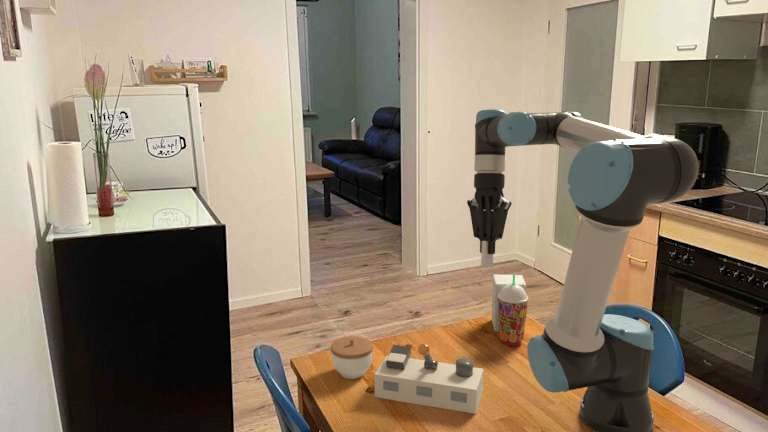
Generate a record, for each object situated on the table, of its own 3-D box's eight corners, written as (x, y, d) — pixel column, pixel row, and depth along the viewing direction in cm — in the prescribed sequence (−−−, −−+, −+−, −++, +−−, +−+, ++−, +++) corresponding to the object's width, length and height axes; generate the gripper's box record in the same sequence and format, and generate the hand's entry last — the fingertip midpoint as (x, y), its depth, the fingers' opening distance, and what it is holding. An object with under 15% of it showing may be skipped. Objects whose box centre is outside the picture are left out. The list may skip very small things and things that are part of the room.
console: (482, 391, 142) (483, 368, 140) (475, 414, 132) (476, 390, 131) (387, 376, 149) (387, 354, 148) (374, 397, 140) (374, 374, 138)
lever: (438, 361, 142) (430, 342, 131) (436, 371, 140) (428, 354, 130) (426, 359, 142) (417, 341, 132) (424, 370, 141) (415, 352, 131)
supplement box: (520, 320, 182) (523, 274, 178) (524, 332, 173) (527, 284, 170) (491, 319, 183) (492, 273, 179) (493, 331, 174) (495, 283, 170)
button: (474, 370, 140) (474, 359, 139) (471, 378, 136) (471, 367, 135) (457, 367, 141) (457, 357, 140) (454, 376, 137) (454, 365, 136)
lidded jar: (352, 388, 144) (351, 353, 142) (322, 373, 151) (321, 340, 149) (382, 372, 151) (381, 338, 149) (352, 358, 158) (351, 326, 156)
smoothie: (489, 341, 168) (492, 274, 163) (507, 332, 173) (510, 268, 168) (514, 351, 162) (517, 282, 157) (531, 341, 167) (535, 275, 162)
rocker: (411, 352, 145) (410, 346, 144) (404, 369, 140) (403, 362, 139) (394, 350, 147) (393, 343, 146) (386, 367, 141) (385, 360, 140)
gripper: (519, 172, 145) (517, 268, 146) (480, 173, 155) (478, 263, 156) (499, 171, 140) (496, 270, 141) (460, 172, 150) (457, 264, 151)
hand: (487, 266), depth 148 cm, fingers closed
